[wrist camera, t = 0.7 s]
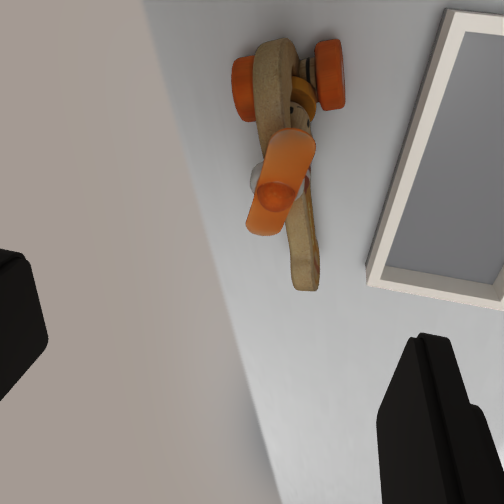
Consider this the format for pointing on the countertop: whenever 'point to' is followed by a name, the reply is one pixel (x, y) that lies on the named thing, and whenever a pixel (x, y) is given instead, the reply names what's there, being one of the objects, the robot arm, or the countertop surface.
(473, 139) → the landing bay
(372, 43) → the countertop surface
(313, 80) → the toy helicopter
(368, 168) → the countertop surface
